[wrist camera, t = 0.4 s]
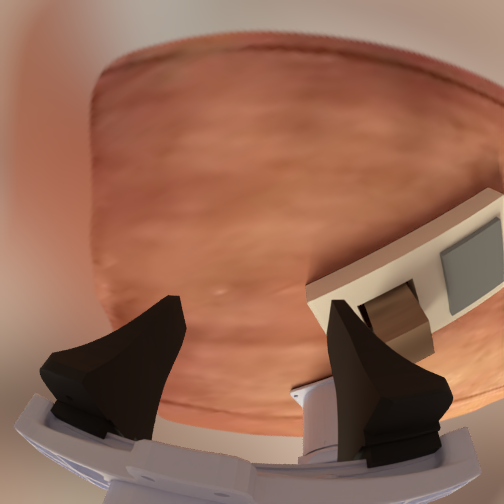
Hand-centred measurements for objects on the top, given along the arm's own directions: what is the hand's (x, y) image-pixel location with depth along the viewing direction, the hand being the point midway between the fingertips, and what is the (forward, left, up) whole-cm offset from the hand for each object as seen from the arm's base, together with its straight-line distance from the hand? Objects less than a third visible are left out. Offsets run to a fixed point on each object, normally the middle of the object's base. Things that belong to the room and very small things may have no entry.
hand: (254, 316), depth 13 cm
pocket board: (-11, -11, -10) cm, 18 cm away
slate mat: (-11, -16, -8) cm, 20 cm away
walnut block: (-11, -7, -10) cm, 16 cm away
